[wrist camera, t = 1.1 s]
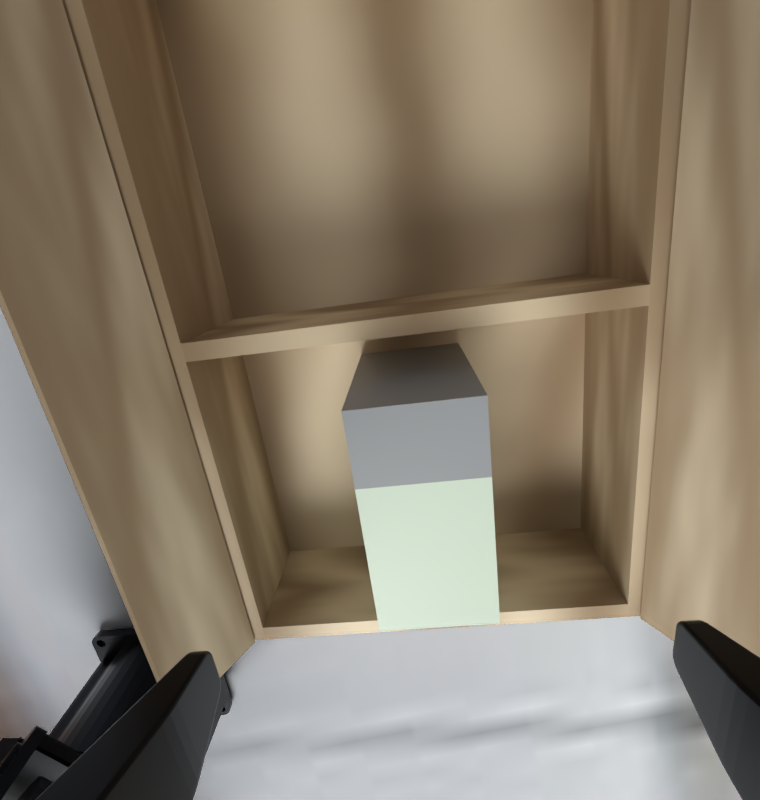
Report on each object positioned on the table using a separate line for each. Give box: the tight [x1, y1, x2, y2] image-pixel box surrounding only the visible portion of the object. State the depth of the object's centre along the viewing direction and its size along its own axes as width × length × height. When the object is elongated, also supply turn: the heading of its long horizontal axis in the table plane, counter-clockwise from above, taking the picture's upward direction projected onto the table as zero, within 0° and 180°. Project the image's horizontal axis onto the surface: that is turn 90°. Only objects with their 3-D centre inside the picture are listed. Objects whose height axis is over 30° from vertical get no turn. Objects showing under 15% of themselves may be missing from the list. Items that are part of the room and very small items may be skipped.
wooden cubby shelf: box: [0, 0, 760, 682], centre depth 14 cm, size 19×24×8 cm
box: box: [341, 343, 500, 631], centre depth 16 cm, size 4×8×6 cm, turn 8°
